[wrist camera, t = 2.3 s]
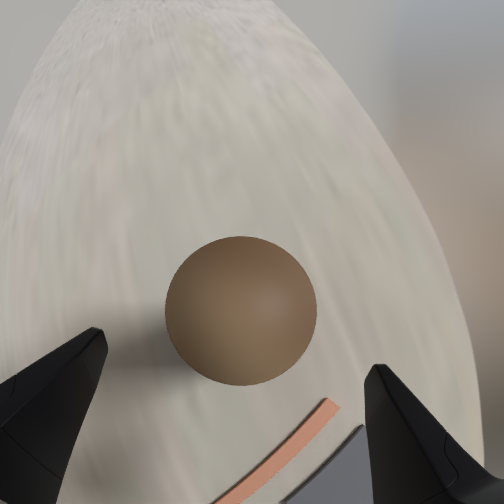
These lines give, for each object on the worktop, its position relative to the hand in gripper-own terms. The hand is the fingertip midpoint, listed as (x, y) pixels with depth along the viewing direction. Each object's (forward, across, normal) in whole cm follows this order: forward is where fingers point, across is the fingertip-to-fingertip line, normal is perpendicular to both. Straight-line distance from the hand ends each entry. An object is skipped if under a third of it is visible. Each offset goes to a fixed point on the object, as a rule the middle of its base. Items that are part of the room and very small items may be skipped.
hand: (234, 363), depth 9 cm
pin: (+8, 0, +6) cm, 10 cm away
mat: (-1, -11, +15) cm, 18 cm away
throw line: (+1, -3, +13) cm, 13 cm away
